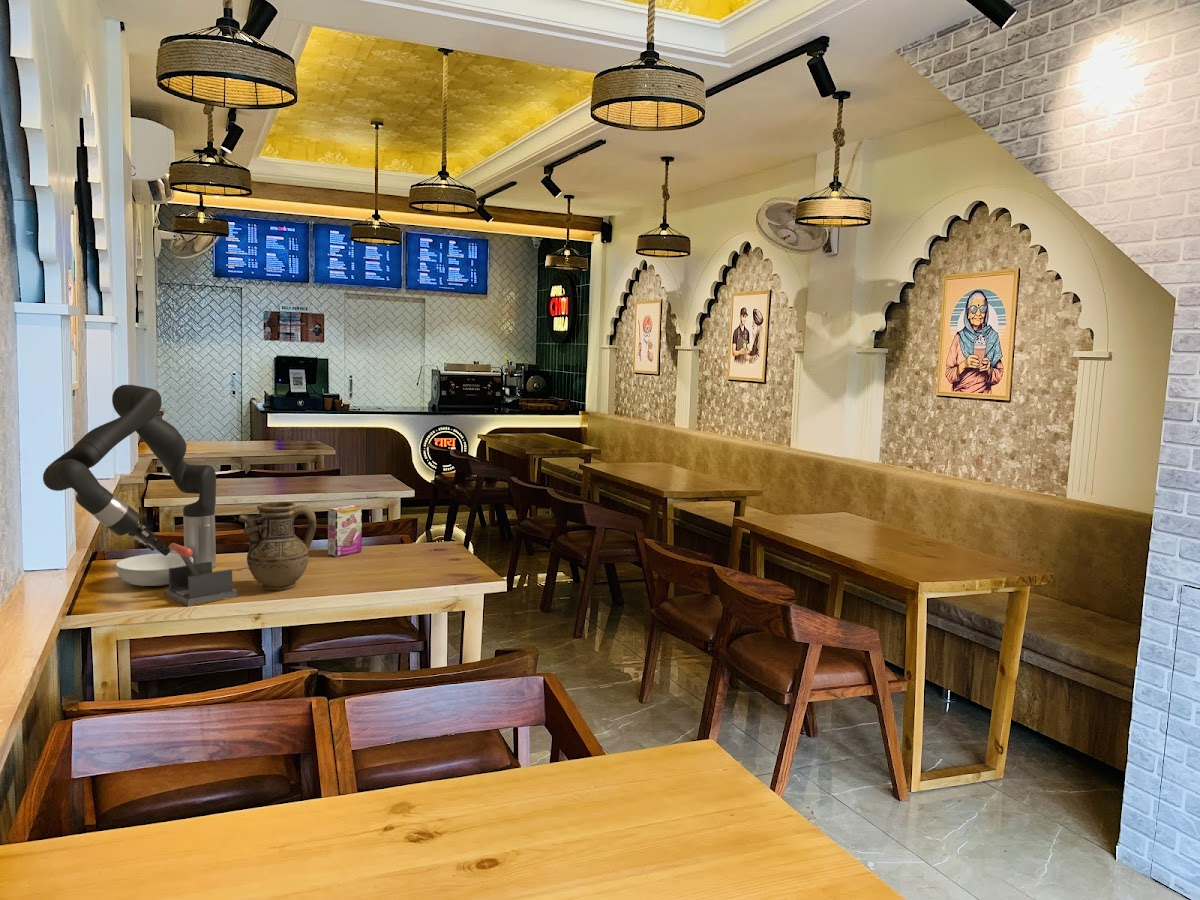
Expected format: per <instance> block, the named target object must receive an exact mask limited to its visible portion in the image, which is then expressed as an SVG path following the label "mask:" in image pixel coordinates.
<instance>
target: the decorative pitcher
mask: <svg viewBox="0 0 1200 900" xmlns="http://www.w3.org/2000/svg"><path fill="white" fill-rule="evenodd" d="M256 509H257V510H258V511H259V513H258V514H256V515H245V514H240V515H239V516H238V522H241V523H245V524H246V525H247V526H246V527H245V528H244V529H243V533H244V534H245V535H248V540H249V547H248V550H247V551H248V552H247V554H246V555H247V556H246V563H247V567H248V569H249V570H250V571H249V572H250V573H251V575H252V577H253V578H254V579H255V580H256V582H258V583H259V584H261V585H262V586H261V587H262V589H263V590H266V589H268V590H267V591H284V590H287V589H288V588H289V589H291V588H293V587H296V586H297V585H298V584H297V583H298V582H297V581H298V580H300V579H301V578H302V576H303V575H304V573H305V571H306V569H307V567H308V564H309V550H310V546H311V545H312V542H313V540H314V536H315V533H316V529H317V520H316V519H317V518H316V517H317V516H316V513H315V511H314V510H313V509H312V508H311V507H309V505H304V504H303V505H297V506H296V504H295V503H294V502H290V501H269V502H262V503H260V504H258V505H256ZM299 515H304V516H305V517H306V520H307V524H308V525H307V530H306V532H305V535H304V539H303V540H302V539H301V538H300V537H298V535H296V534H295V527H294V521H295V519H296V518H297V517H298V516H299ZM283 589H284V590H283Z"/></svg>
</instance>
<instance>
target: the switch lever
mask: <svg viewBox="0 0 1200 900" xmlns="http://www.w3.org/2000/svg"><path fill="white" fill-rule="evenodd" d="M167 547H168V548H170V549H171V551H170V552H171V553H172V552H173V553H174V554H180V556H181V557H182V559H183V561H184V562H185V564H186V565H187V567H188V568H189V570H190V572H191V573H192V575H193V576H194V575H199V573H198V571H197V570H196V568H195V567H194V565H193V563H192V562H191V560H190V559H189V557H190V556H192V554H193V551H192V550H191V549H189V548H186V547H184V545H180V544H178V543H176V542H171V543H169V545H168V546H167Z"/></svg>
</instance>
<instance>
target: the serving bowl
mask: <svg viewBox="0 0 1200 900" xmlns="http://www.w3.org/2000/svg"><path fill="white" fill-rule="evenodd" d="M189 559H190V560H191V562H192V563H193V558H192V557H191V556H190V557H189ZM180 566H186V564H185V562H184V561H183V559H182V557H181V556H180V554H177V553H174V552H173V553H172V552H169V553H168V555H166V556H165V555H163V554H162V553H160V552H159V553H148V554H140V555H135V556H128V557H126V558H123V559H121V560H119V561H117V562H116V564H115V568H116V572H117V575H118V576H119V577H120V578H121V580H122V581H124V582H125V583H127V584H130V585H133V586H139V587H140V586H141V587H144V586H158V587H163V585H164V586H167V585H169V568H174V567H180Z"/></svg>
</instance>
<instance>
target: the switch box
mask: <svg viewBox="0 0 1200 900" xmlns="http://www.w3.org/2000/svg"><path fill="white" fill-rule="evenodd" d="M193 565H194V567H195V568H196V570H197V571H198V573H199V575H194V576H193V575H192V573H191V572H190V570H189V568H188V567H187V565H186V566H180V567H174V568H169V584H168V585H169V587H168V588H164V597H167V598H169V599H171V600H173V601H175V602H177V603H179V602H180V604H181V603H182V604H181V605H183V604H185V605H184V606H186V605H187V606H186V607H188V606H189V607H192V606H191V605H194V606H196V605H195V604H199V603H204V604H206V603H205V602H209V603H211V602H210V601H214V602H216V601H215V600H219V601H221V600H220V599H225V598H230V599H233V598H232V597H235V598H237V597H238V590H237V589H236V588H234V587H233V569H224V570H218V571H213V568H212V562H205V563H198V564H193ZM236 596H237V597H236ZM225 600H226V599H225ZM199 605H200V604H199Z"/></svg>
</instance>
